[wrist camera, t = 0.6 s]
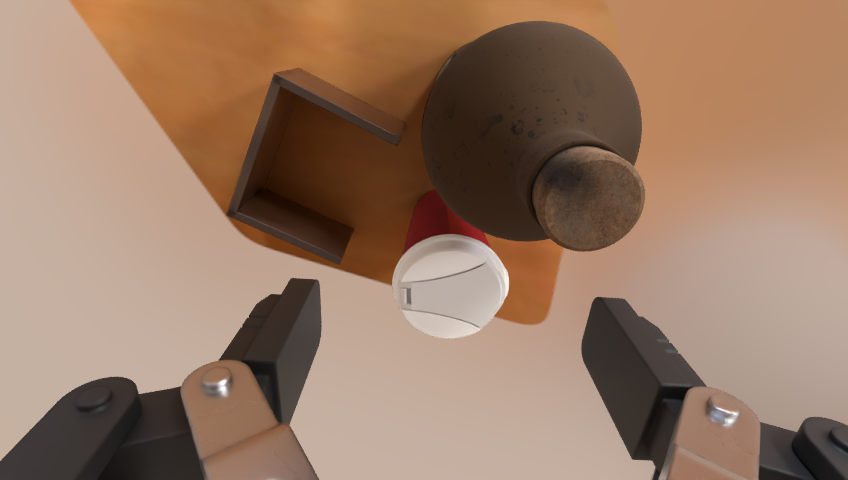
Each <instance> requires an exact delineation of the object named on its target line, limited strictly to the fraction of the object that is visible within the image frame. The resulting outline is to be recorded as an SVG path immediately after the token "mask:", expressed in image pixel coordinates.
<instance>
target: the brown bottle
mask: <svg viewBox="0 0 848 480" xmlns="http://www.w3.org/2000/svg"><path fill="white" fill-rule="evenodd" d="M641 131H642V122H641V111H640V105H639V101H638V98H637V94H636V91H635V88H634V86H633V84H632V81H631V79H630V77H629V76H628V74H627V72H626V70H625V69H624V67H623V66H622V64H621V63H620V62H619V60H618V59H617V58H616V56H615V55H614V54H613V53H612V52H611V51H610V50H609V49H608V48H607V47H606V46H605V45H603V44H602V43H601V42H600V41H598V40H597V39H595V38H594V37H592V36H591V35H589V34H587V33H585V32H583V31H581V30H579V29H577V28H574V27H571V26H568V25H564V24H560V23H554V22H546V21H529V22H521V23H515V24H511V25H507V26H504V27H501V28H498V29H495V30H493V31H491V32H489V33H487V34H485V35H483V36H481V37H479V38H478V39H476V40H474V41H472V42H470V43H468V44H466V45H464V46H462V47H461V48H459V49H458V50H457V51H455V52H454V53H453V54H452V55H451V56H450V57H449V58H448V59H447V61H446V62H445V63H444V65H443V66H442V68H441V69H440V71H439V73H438V75H437V78H436V81H435V84H434V86H433V88H432V90H431V93H430V95H429V98H428V101H427V104H426V107H425V111H424V116H423V122H422V150H423V156H424V161H425V165H426V169H427V172H428V175H429V177H430V179H431V182H432V184H433V186H434V187H435V189H436V191H437V193H438V194H439V196H440V197H441V198H442V200H443V201H444V202H445V204H446V205H447V206H448V207H449V208H450V209H451V210H452V211H453V212H454V213H455V214H456V215H457V216H459V217H460V218H461V219H463V220H464V221H465V222H467V223H468V224H470V225H471V226H473V227H475V228H476V229H478V230H480V231H482V232H484V233H487V234H489V235H492V236H495V237H498V238H503V239H507V240H514V241H539V240H545V239H551V240H553V241H554V242H555V243H557V244H558V245H560V246H562V247H564V248H566V249H570V250H574V251H594V250H599V249H602V248H605V247H607V246H610V245H612V244H614V243H615V242H617V241H618V240H620V239H621V238H623V237H624V236H625V235H626V234H627V233H628V232H629V231H630V230H631V229H632V228H633V227H634V225H635V224H636V222H637V221H638V219H639V217H640V215H641V212H642V210H643V206H644V200H645V189H644V184H643V181H642V179H641V176H640V175H639V173H638V171H637V170H636V169H635V168H634V165H635V162H636V159H637V156H638V152H639V148H640V142H641Z"/></svg>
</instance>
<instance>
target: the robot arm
mask: <svg viewBox="0 0 848 480" xmlns="http://www.w3.org/2000/svg"><path fill="white" fill-rule="evenodd" d="M320 337H321V304H320V285H319V281H318V280H313V279H296V278H292V279H290V281H289V282H288V284H287V286H286V287H285V289H284V291H283V292H282V294H281V295H277V294H271V295H269V296H268V297H266V298H265V299H263V300H262V301H260V302H259V303H257V304H256V306H255V307H254V309H253V310H252V312H251V313H250V315H249V318H247V319H246V321H245V322H244V324H243V326H242V328H240V330H239V331H238V333H237V334H236V336H235V337H234V338H233V340H232V342H231V343H230V344H229V346H228V348H227V349H226V350H225V352H224V353H223V355H222V356H221V358H220V359H219V361H215V362H212V363H209V364H206V365H204V366H202V367H200V368H198V369H196V370H195V371H193V372H192V373H191V374H190V375H189V376H188V377H187V378H186V379H185V380H184V382H183V384H182V386H180V387H177V388H172V389H167V390H161V391H155V392H149V393H143V394H138V390H137V386H136V384H135V383H134V382H133V381H132V380H129V379H127V378H123V377H108V378H102V379H98V380H95V381H91V382H89V383H86V384H84V385H81V386H79V387H77V388H75V389H74V390H72V391H71V392H69V393H68V394H66V395H65V396H64V397H62V398H61V399H60V400H59V401H58V402H57V403H56V404H55V405H54V406H53V407H52V408H51V409H50V410H49V411H48V412H47V413H46V415H45V416H44V417H43V418H42V419H41V420H40V421H39V422H38V423H37V424H36V425H35V426H34V427H33V428H32V429H31V430H30V431H29V432H28V433H27V434H26V435H25V436H24V437H23V438H22V439H21V440H20V441H19V442H18V444H16V446H15V447H14V448H13V449H12V450H11V451H10V452H9V453H8V454H7V455H6V456H5V457H4V458H3V459H2V460H1V461H0V480H319V478H318V477H317V475H316V473H315V471H314V469H313V467H312V465H311V464H310V462H309V460H308V458H307V456H306V455H305V453H304V451H303V449H302V447H301V445H300V444H299V442H298V440H297V438H296V436H295V434H294V433H293V431H292V429H291V427H290V426H289V424H290V421H291V419H292V416H293V413H294V411H295V408H296V406H297V403H298V400H299V397H300V395H301V391H302V389H303V387H304V384H305V381H306V379H307V376H308V373H309V370H310V368H311V365H312V362H313V360H314V357H315V354H316V351H317V349H318V346H319V342H320ZM582 357H583V361H584V363H585V365H586V367H587V369H588V371H589V373H590V375H591V377H592V379H593V381H594V384H595V386H596V387H597V390H598V391H599V394H600V396H601V397H602V400H603V402H604V404H605V406H606V408H607V409H608V412H609V414H610V416H611V417H612V420H613V422H614V423H615V426H616V428H617V430H618V432H619V434H620V436H621V438H622V440H623V442H624V444H625V446H626V448H627V450H628V452H629V454H630V456H631V458H632V459H634V460H652V461H653V463H654V465H655V466H656V467H655V470H654V472H653V474H652V477H651V480H848V426H847V425H845V424H843V423H840V422H837V421H834V420H831V419H827V418H822V417H809V418H807V419H805V420H804V422H803V423H802V425H801V426H800V428H799V430H798V432H794V431H790V430H787V429H783V428H780V427H776V426H772V425H768V424H765V423H761V422H760V421H759V419H758V417H757V416H756V414H755V413H754V412H753V411H752V410H751V409H750V408H749V407H748V406H747V405H746V404H744V403H743V402H742V401H740V400H739V399H737V398H736V397H734V396H732V395H730V394H728V393H726V392H723V391H721V390H718V389H714V388H710V387H707V386H706V385H705V384H704V382H703V381H702V380H701V379H700V378H699V376H698V375H697V374H696V373H695V371H694V370H693V369H692V368H691V367H690V366H689V364H688V363H687V362H686V361H685V359H684V358H683V357H682V356H681V355H680V354H678V351H677V350H676V348H675V347H674V346H673V345H672V344H671V343H669V340H668V339H667V338H666V336H665V335H664V334H663V333H662V332H661V331H660V329H659V328H658V327H656V326H655V325H654V324H652V323H650V322H649V321H648V320H646V319H645V318H643V317H639V316H638V315H637V314H636V312H635V311H634V310H633V309H632V307H631V306H630V305H629V304H628V303H627V301H626V300H625V299H620V298H604V297H596V298H595V299H594V301H593V303H592V306H591V309H590V313H589V317H588V321H587V324H586V328H585V332H584V336H583V339H582Z"/></svg>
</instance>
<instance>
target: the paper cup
mask: <svg viewBox="0 0 848 480" xmlns="http://www.w3.org/2000/svg"><path fill="white" fill-rule="evenodd" d="M508 289H509V277H508V271H507V270H506V268H505V267H504V265H503V264H502V262H501V260H500V259H499V257H498V256H497V255H496V253H495V252H494V251H493V250H492V249H491V248H490V246H489V243H488V241H487V239H486V236H485V234H484V232H482V231H480V230H478V229H476V228H475V227H473V226H471V225H470V224H468V223H467V222H465V221H464V220H463V219H461V218H460V217H459V216H457V215H456V214H455V213H454V212H453V211H452V210H451V209H450V208H449V207H448V206H447V205H446V204H445V202H444V201H443V200H442V198H441V197H440V196H439V194H438V193H437V191H436V189H434V190H431V191H429V192H428V193H426V194H425V195H424V196H422V197H421V199H420V200H419V201H418V203H417V205H416V207H415V210H414V213H413V216H412V220H411V224H410V227H409V230H408V234H407V238H406V243H405V248H404V252H403V256H402V257H401V259H400V260H399V262H398V263H397V266H396V268H395V270H394V274H393V279H392V290H393V295H394V299H395V302H396V303H397V305H398V307H399V309H400V310H401V311H402V313H403V315H404V316H405V318H406V319H407V320H408V321H409V322H410V323H411V324H412V325H413V326H414V327H415V328H417V329H418V330H420V331H422V332H424V333H426V334H428V335H431V336H434V337H439V338H448V339H449V338H459V337H465V336H468V335H471V334H473V333H475V332H478V331H479V330H481V329H482V328H483V327H484V326H485V325H486V324H487V323H488V322H489V321H490V320H491V319H492V318H493V317H494V315H495V314H496V313H497V311H498V310H499V309H500V307H501V306H502V304H503V302H504V299H505V298H506V296H507V294H508Z"/></svg>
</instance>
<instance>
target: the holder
mask: <svg viewBox="0 0 848 480" xmlns="http://www.w3.org/2000/svg"><path fill="white" fill-rule="evenodd" d="M297 95H298V96H300V97H302V98H304V99H305V100H307V101H309V102H311V103H313V104H315V105H317V106H319V107H321V108H323V109H325V110H327V111H329V112H331V113H333V114H335V115H337V116H339V117H341V118H343V119H345V120H347V121H349V122H351V123H353V124H354V125H356V126H358V127H360V128H362V129H364V130H366V131H368V132H370V133H372V134H374V135H376V136H378V137H380V138H382V139H384V140H386V141H388V142H390V143H392V144H394V145H396V146H397V145H398V143H399V141H400V139H401V136H402V132H403V129H404V125H405V123H403V122H401V121H400V120H398V119H396V118H394V117H392V116H390V115H388V114H386V113H384V112H382V111H380V110H379V109H377V108H375V107H373V106H371V105H369V104H367V103H365V102H363V101H361V100H359V99H357V98H356V97H354V96H352V95H350V94H348V93H346V92H344V91H342V90H340V89H338V88H336V87H335V86H333V85H331V84H329V83H327V82H325V81H323V80H321V79H319V78H317V77H315V76H314V75H312V74H310V73H308V72H306V71H304V70H302V69H300V68H295V69H290V70H286V71H281V72H276V73H274V75H273V78H272V81H271V84H270V87H269V90H268V93H267V96H266V99H265V102H264V104H263V107H262V110H261V113H260V116H259V119H258V122H257V125H256V128H255V131H254V134H253V137H252V140H251V143H250V146H249V149H248V152H247V155H246V158H245V161H244V164H243V167H242V170H241V173H240V176H239V179H238V182H237V185H236V188H235V191H234V194H233V197H232V199H231V202H230V205H229V208H228V211H227V214H226V215H227V216H229V217H232V218H234V219H236V220H238V221H241V222H243V223H245V224H248V225H250V226H252V227H254V228H257V229H259V230H261V231H263V232H266V233H268V234H270V235H273V236H275V237H277V238H279V239H282V240H284V241H286V242H288V243H291V244H293V245H295V246H298V247H300V248H302V249H304V250H307V251H309V252H311V253H314V254H316V255H318V256H320V257H323V258H325V259H327V260H329V261H332V262H334V263H336V264H340V262H341V260H342V258H343V255H344V253H345V250H346V248H347V245H348V243H349V240H350V237H351V235H352V232H353V229H351V228H349V227H347V226H345V225H343V224H340V223H338V222H336V221H334V220H332V219H330V218H327V217H325V216H323V215H321V214H319V213H317V212H314V211H312V210H310V209H308V208H306V207H303V206H301V205H299V204H297V203H295V202H293V201H290V200H288V199H286V198H284V197H282V196H280V195H277V194H275V193H273V192H271V191H269V190H266V189H264V185H265V183H266V180H267V177H268V174H269V172H270V169H271V166H272V164H273V161H274V158H275V155H276V153H277V150H278V147H279V144H280V142H281V139H282V136H283V134H284V131H285V128H286V125H287V123H288V120H289V117H290V114H291V112H292V109H293V106H294V104H295V101H296V98H297Z"/></svg>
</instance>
